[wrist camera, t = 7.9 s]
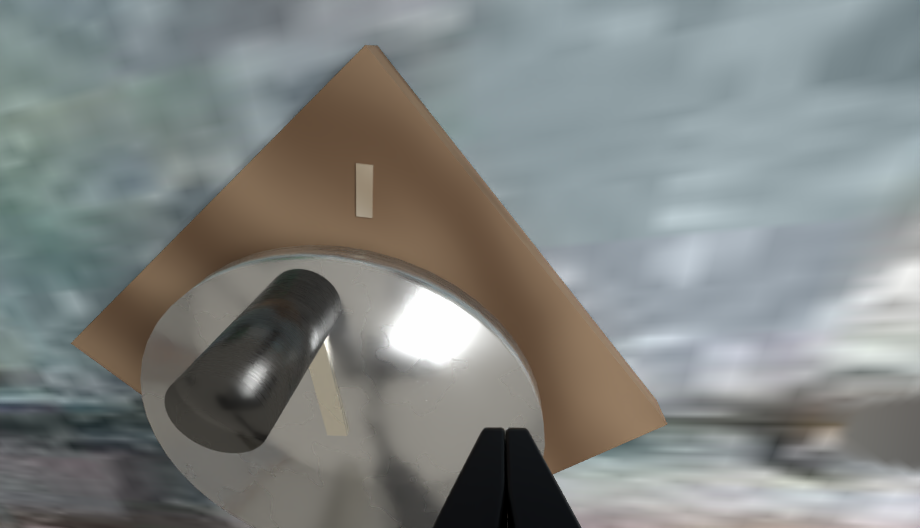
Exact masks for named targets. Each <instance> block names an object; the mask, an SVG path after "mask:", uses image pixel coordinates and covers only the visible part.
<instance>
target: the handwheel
mask: <svg viewBox="0 0 920 528" xmlns="http://www.w3.org/2000/svg"><path fill="white" fill-rule="evenodd" d="M140 382H141V392H142V400H143V404H144V407H145V411H146V415H147V418H148V421H149V423H150V425H151V427H152V430H153V432H154V434H155V436H156V438H157V440H158V441H159V443H160V445H161V446H162V448H163V450H164V451H165V453H166V454H167V456H168V457H169V458H170V460H171V461H172V462H173V463H174V465H175V466H176V467H177V469H178V470H179V471H180V472H181V473H182V474H183V475H184V476H185V477H186V478H187V479H188V480H189V481H190V482H191V483H192V484H193V485H194V486H195V487H196V488H197V489H198V490H199V491H201V492H202V493H203V494H204V495H205V496H206V497H208V498H209V499H210V500H211V501H213V502H214V503H215V504H217V505H218V506H220V507H221V508H222V509H224V510H225V511H227V512H228V513H230V514H231V515H233V516H235V517H236V518H238V519H240V520H242V521H243V522H245V523H247V524H249V525H251V526H253V527H255V528H432V526H433V524H434V522H435V520H436V518H437V516H438V514H439V513H440V511H441V509H442V507H443V505H444V503H445V501H446V499H447V497H448V495H449V493H450V491H451V489H452V487H453V485H454V483H455V481H456V479H457V477H458V475H459V474H460V472H461V470H462V468H463V466H464V464H465V462H466V460H467V458H468V456H469V454H470V452H471V450H472V448H473V446H474V444H475V442H476V440H477V438H478V436H479V435H480V433H481V431H482V429H483V428H485V427H502V428H504V430H505V431H506V429H507V428H509V427H518V428H526V429H528V431H529V432H530V434H531V436H532V438H533V439H534V441H535V443H536V445H537V447H538V449H539V450H540V452H541V454H542V456H543V455H544V448H545V439H544V423H543V415H542V407H541V400H540V396H539V391H538V387H537V383H536V380H535V377H534V375H533V373H532V370H531V368H530V365H529V363H528V361H527V359H526V357H525V356H524V354H523V352H522V351H521V349H520V348H519V346H518V344H517V343H516V341H515V340H514V338H513V337H512V336H511V335H510V334H509V332H508V331H507V330H506V329H505V328H504V326H503V325H502V324H501V323H500V322H499V320H498V319H496V318H495V317H494V316H493V315H492V314H491V313H490V312H489V311H488V310H487V309H486V308H485V307H483V306H482V305H481V304H480V303H479V302H478V301H476V300H475V299H474V298H472V297H471V296H469V295H468V294H467V293H465V292H464V291H462V290H461V289H460V288H458V287H457V286H455V285H454V284H452V283H450V282H448V281H446V280H445V279H443V278H441V277H439V276H437V275H436V274H434V273H432V272H430V271H428V270H426V269H423V268H421V267H418V266H416V265H413V264H411V263H408V262H406V261H403V260H401V259H398V258H394V257H391V256H387V255H383V254H380V253H376V252H373V251H368V250H362V249H356V248H349V247H343V246H326V245H303V246H292V247H281V248H276V249H272V250H268V251H263V252H259V253H254V254H252V255H249V256H247V257H244V258H241V259H239V260H236V261H233V262H231V263H229V264H227V265H226V266H224V267H222V268H220V269H219V270H217V271H215V272H213V273H212V274H210V275H209V276H207V277H206V278H205V279H204V280H202V281H201V282H200V283H198V284H197V285H196V286H195V287H193V288H192V289H191V290H189V291H188V292H187V293H186V294H185V295H183V296H182V297H181V298H180V299H179V300H177V301H176V302H175V303H174V304H173V305H171V306H170V308H169V309H168V310H167V311H166V312H165V314H164V315H163V316H162V317H161V319H160V320H159V321H158V322H157V324H156V326H155V328H154V330H153V331H152V333H151V335H150V337H149V339H148V341H147V344H146V348H145V351H144V355H143V358H142V365H141V377H140ZM505 444H506V442H505Z"/></svg>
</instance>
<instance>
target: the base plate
mask: <svg viewBox="0 0 920 528" xmlns="http://www.w3.org/2000/svg"><path fill="white" fill-rule="evenodd" d="M303 245H326V246H343V247H349V248H356V249H362V250H368V251H373V252H376V253H380V254H383V255H387V256H391V257H394V258H398V259H401V260H403V261H406V262H408V263H411V264H413V265H416V266H418V267H421V268H423V269H426V270H428V271H430V272H432V273H434V274H436V275H437V276H439V277H441V278H443V279H445V280H446V281H448V282H450V283H452V284H454V285H455V286H457V287H458V288H460V289H461V290H462V291H464V292H465V293H467V294H468V295H469V296H471V297H472V298H474V299H475V300H476V301H478V302H479V303H480V304H481V305H482V306H483V307H485V308H486V309H487V310H488V311H489V312H490V313H491V314H492V315H493V316H494V317H495V318H496V319H498V320H499V322H500V323H501V324H502V325H503V326H504V328H505V329H506V330H507V331H508V332H509V334H510V335H511V336H512V337H513V338H514V340H515V341H516V343H517V344H518V346H519V348H520V349H521V351H522V352H523V354H524V356H525V357H526V359H527V361H528V363H529V365H530V368H531V370H532V373H533V375H534V377H535V380H536V383H537V387H538V391H539V396H540V400H541V407H542V415H543V423H544V439H545V448H544V455H543V458H544V460H545V461H546V463H547V465H548V467H549V469H550V471H551V473H552V474H555V473H557V472H559V471H562V470H564V469H566V468H569V467H571V466H573V465H575V464H578V463H580V462H582V461H585V460H587V459H589V458H591V457H594V456H596V455H598V454H601V453H603V452H605V451H607V450H610V449H612V448H614V447H617V446H619V445H621V444H623V443H626V442H628V441H630V440H633V439H635V438H637V437H639V436H642V435H644V434H646V433H649V432H651V431H653V430H656V429H658V428H660V427H662V426H665V425H667V422H666V420H665V418H664V416H663V413H662V411H661V409H660V407H659V405H658V402H657V400H656V399H655V398H654V397H653V395H652V394H651V393H650V391H649V390H648V389H647V388H646V386H645V385H644V384H643V383H642V381H641V380H640V379H639V377H638V376H637V375H636V374H635V372H634V371H633V370H632V369H631V367H630V366H629V365H628V363H627V362H626V361H625V360H624V358H623V357H622V356H621V355H620V353H619V352H618V351H617V350H616V348H615V347H614V346H613V344H612V343H611V342H610V341H609V339H608V338H607V337H606V336H605V334H604V333H603V332H602V330H601V329H600V328H599V327H598V325H597V324H596V323H595V322H594V320H593V319H592V318H591V316H590V315H589V314H588V313H587V311H586V310H585V309H584V308H583V306H582V305H581V304H580V303H579V301H578V300H577V299H576V297H575V296H574V295H573V294H572V292H571V291H570V290H569V289H568V287H567V286H566V285H565V283H564V282H563V281H562V280H561V278H560V277H559V276H558V275H557V273H556V272H555V271H554V270H553V268H552V267H551V266H550V264H549V263H548V262H547V261H546V259H545V258H544V257H543V256H542V254H541V253H540V252H539V250H538V249H537V248H536V247H535V245H534V244H533V243H532V242H531V240H530V239H529V238H528V236H527V235H526V234H525V233H524V231H523V230H522V229H521V228H520V226H519V225H518V224H517V223H516V221H515V220H514V219H513V217H512V216H511V215H510V214H509V212H508V211H507V210H506V209H505V207H504V206H503V205H502V203H501V202H500V201H499V200H498V198H497V197H496V196H495V195H494V193H493V192H492V191H491V189H490V188H489V187H488V186H487V184H486V183H485V182H484V181H483V179H482V178H481V177H480V176H479V174H478V173H477V172H476V170H475V169H474V168H473V167H472V165H471V164H470V163H469V162H468V160H467V159H466V158H465V156H464V155H463V154H462V153H461V151H460V150H459V149H458V148H457V146H456V145H455V144H454V142H453V141H452V140H451V139H450V137H449V136H448V135H447V134H446V132H445V131H444V130H443V129H442V127H441V126H440V125H439V123H438V122H437V121H436V120H435V118H434V117H433V116H432V115H431V113H430V112H429V111H428V109H427V108H426V107H425V106H424V104H423V103H422V102H421V101H420V99H419V98H418V97H417V96H416V94H415V93H414V92H413V90H412V89H411V88H410V87H409V85H408V84H407V83H406V82H405V80H404V79H403V78H402V76H401V75H400V74H399V73H398V71H397V70H396V69H395V68H394V66H393V65H392V64H391V62H390V61H389V60H388V59H387V57H386V56H385V55H384V54H383V52H382V51H381V50H380V49H379V47H378V46H374V45H365V46H364V47H363V48H362V49H361V50H360V51H359V52H358V53H357V54H356V55H355V56H354V57H353V58H352V59H351V60H350V61H349V62H348V63H347V64H346V65H345V66H344V67H343V68H342V69H341V70H340V71H339V72H338V73H337V74H336V75H335V76H334V77H333V78H332V79H331V80H330V81H329V82H328V83H327V84H326V85H325V86H324V87H323V89H322V90H321V91H320V92H319V93H318V94H317V95H316V96H315V97H314V98H313V99H312V100H311V101H310V102H309V103H308V104H307V105H306V106H305V107H304V108H303V109H302V110H301V111H300V112H299V113H298V114H297V115H296V116H295V117H294V118H293V119H292V120H291V121H290V122H289V123H288V124H287V125H286V126H285V127H284V128H283V129H282V130H281V131H280V132H279V133H278V134H277V135H276V136H275V137H274V138H273V139H272V140H271V141H270V142H269V143H268V144H267V145H266V146H265V147H264V148H263V149H262V150H261V151H260V152H259V153H258V154H257V155H256V156H255V157H254V158H253V159H252V160H251V161H250V162H249V163H248V164H247V165H246V166H245V167H244V168H243V170H242V171H241V172H240V173H239V174H238V175H237V176H236V177H235V178H234V179H233V180H232V181H231V182H230V183H229V184H228V185H227V186H226V187H225V188H224V189H223V190H222V191H221V192H220V193H219V194H218V195H217V196H216V197H215V198H214V199H213V200H212V201H211V202H210V203H209V204H208V205H207V206H206V207H205V208H204V209H203V210H202V211H201V212H200V213H199V214H198V215H197V216H196V217H195V218H194V219H193V220H192V221H191V222H190V223H189V224H188V225H187V226H186V227H185V228H184V229H183V230H182V231H181V232H180V233H179V234H178V235H177V236H176V237H175V238H174V239H173V240H172V241H171V242H170V243H169V244H168V245H167V246H166V247H165V248H164V249H163V250H162V252H161V253H160V254H159V255H158V256H157V257H156V258H155V259H154V260H153V261H152V262H151V263H150V264H149V265H148V266H147V267H146V268H145V269H144V270H143V271H142V272H141V273H140V274H139V275H138V276H137V277H136V278H135V279H134V280H133V281H132V282H131V283H130V284H129V285H128V286H127V287H126V288H125V289H124V290H123V291H122V292H121V293H120V294H119V295H118V296H117V297H116V298H115V299H114V300H113V301H112V302H111V303H110V304H109V305H108V306H107V307H106V308H105V309H104V310H103V311H102V312H101V313H100V314H99V315H98V316H97V317H96V318H95V319H94V320H93V321H92V322H91V323H90V324H89V325H88V326H87V327H86V328H85V329H84V330H83V331H82V332H81V334H80V335H79V336H78V337H77V338H76V339H75V340H74V341H73V342H72V343H71V344H73V345H74V346H75V347H77V348H78V349H79V350H81V351H82V352H84V353H85V354H86V355H88V356H89V357H90V358H92V359H93V360H95V361H96V362H97V363H99V364H100V365H101V366H103V367H104V368H106V369H107V370H108V371H110V372H111V373H112V374H114V375H115V376H117V377H118V378H119V379H121V380H122V381H123V382H125V383H126V384H127V385H129V386H130V387H132V388H133V389H134V390H136V391H137V392H138V393H140V394H141V395H142V392H141V382H140V377H141V365H142V358H143V355H144V351H145V348H146V344H147V341H148V339H149V337H150V335H151V333H152V331H153V330H154V328H155V326H156V324H157V322H158V321H159V320H160V319H161V317H162V316H163V315H164V314H165V312H166V311H167V310H168V309H169V308H170V306H171V305H173V304H174V303H175V302H176V301H177V300H179V299H180V298H181V297H182V296H183V295H185V294H186V293H187V292H188V291H189V290H191V289H192V288H193V287H195V286H196V285H197V284H198V283H200V282H201V281H202V280H204V279H205V278H206V277H207V276H209V275H210V274H212V273H213V272H215V271H217V270H219V269H220V268H222V267H224V266H226V265H227V264H229V263H231V262H233V261H236V260H239V259H241V258H244V257H247V256H249V255H252V254H254V253H259V252H263V251H268V250H272V249H276V248H281V247H292V246H303Z"/></svg>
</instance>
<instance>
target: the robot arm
mask: <svg viewBox="0 0 920 528" xmlns="http://www.w3.org/2000/svg"><path fill="white" fill-rule="evenodd" d="M505 442H506V444H505ZM507 522H508V526H507ZM432 528H581V526H580V524H579V522H578V520H577V519H576V517H575V515H574V513H573V511H572V509H571V508H570V506H569V504H568V502H567V500H566V498H565V496H564V495H563V493H562V491H561V489H560V487H559V485H558V484H557V482H556V480H555V478H554V476H553V474H552V473H551V471H550V469H549V467H548V465H547V463H546V461H545V460H544V458H543V456H542V454H541V452H540V450H539V449H538V447H537V445H536V443H535V441H534V439H533V438H532V436H531V434H530V432H529V431H528V429H526V428H518V427H509V428H507V429H506V431H505V430H504V428H502V427H485V428H483V429H482V431H481V433H480V435H479V436H478V438H477V440H476V442H475V444H474V446H473V448H472V450H471V452H470V454H469V456H468V458H467V460H466V462H465V464H464V466H463V468H462V470H461V472H460V474H459V475H458V477H457V479H456V481H455V483H454V485H453V487H452V489H451V491H450V493H449V495H448V497H447V499H446V501H445V503H444V505H443V507H442V509H441V511H440V513H439V514H438V516H437V518H436V520H435V522H434V524H433V526H432Z"/></svg>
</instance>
